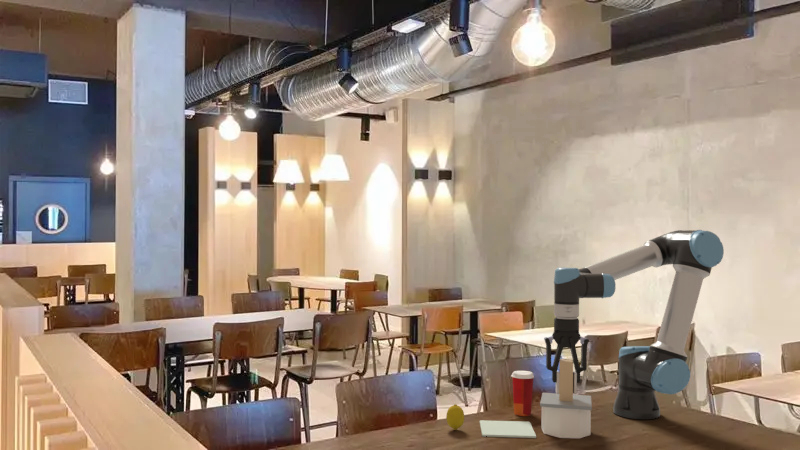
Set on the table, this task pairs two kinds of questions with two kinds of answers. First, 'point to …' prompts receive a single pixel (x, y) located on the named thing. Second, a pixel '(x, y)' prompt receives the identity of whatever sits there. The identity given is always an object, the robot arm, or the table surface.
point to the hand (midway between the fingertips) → (566, 393)
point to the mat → (507, 429)
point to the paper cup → (522, 392)
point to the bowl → (566, 422)
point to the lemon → (455, 417)
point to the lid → (566, 391)
